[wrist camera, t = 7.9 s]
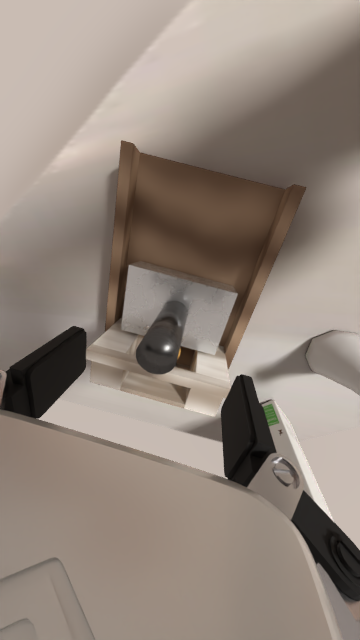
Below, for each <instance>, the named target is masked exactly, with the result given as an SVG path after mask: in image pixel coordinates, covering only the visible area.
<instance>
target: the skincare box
mask: <svg viewBox="0 0 360 640" xmlns="http://www.w3.org/2000/svg"><path fill="white" fill-rule="evenodd" d="M261 405H262V406H263V409H264V412H265V415H266V418H267V422H268V425H269V428H270V432H271V435H272V438H273V441H274V445H275V448H276V451H277V453H278V454H281V455H283V456H285V457H287V458H288V459H289V460H291V461H292V462H293V464H294V465H295V466H296V467H297V468H298V470H299V471H300V473H301V476H302V478H303V482H304V489H303V490H304V491H305V492H306V493H307V494H308V495H309V496H310V497H311V498H312V499H313V500H314V501H315V502H316V504H317V505H318V506H319V507H320V508H321V509H322V510H323V511H324V512H325V513H326V514H327V515H328V516H329V517H330V518H331V519H332V521H333V522H334V520H333V518H332V516H331V513H330V511H329V509H328V507H327V504H326V502H325V500H324V498H323V496H322V493H321V491H320V489H319V486H318V484H317V482H316V480H315V477H314V475H313V473H312V471H311V468H310V466H309V464H308V461H307V459H306V457H305V455H304V453H303V450H302V448H301V446H300V443H299V441H298V439H297V437H296V434H295V432H294V430H293V427H292V425H291V423H290V421H289V420H288V419H287V417H286V416H285V414H284V413H283V412H282V410H281V409H280V407H279V406H278V405H277V403H276V402H275V401H274V400H271V401H269V402H267V403H264V404H261ZM334 523H335V522H334Z"/></svg>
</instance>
